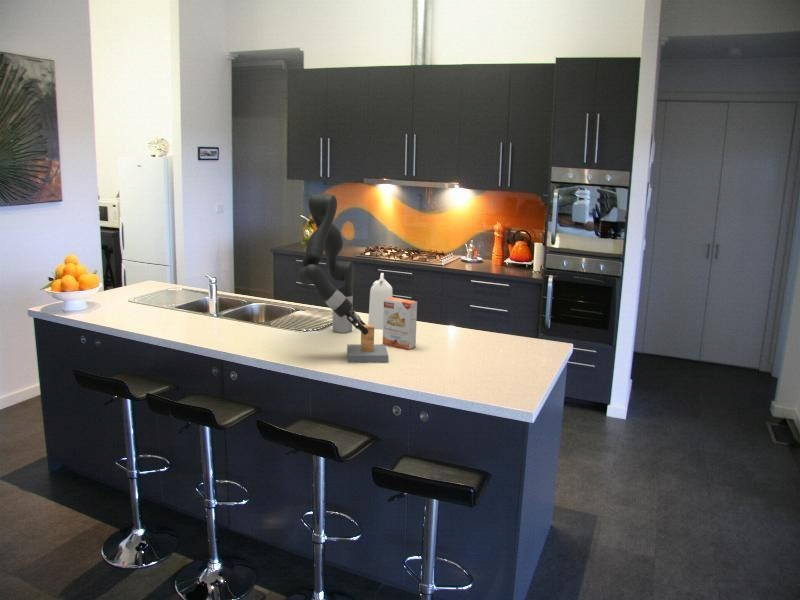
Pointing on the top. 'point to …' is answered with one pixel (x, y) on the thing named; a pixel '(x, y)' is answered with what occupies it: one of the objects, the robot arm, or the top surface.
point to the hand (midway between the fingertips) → (366, 330)
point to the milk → (378, 301)
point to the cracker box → (399, 323)
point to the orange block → (368, 339)
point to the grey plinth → (367, 354)
